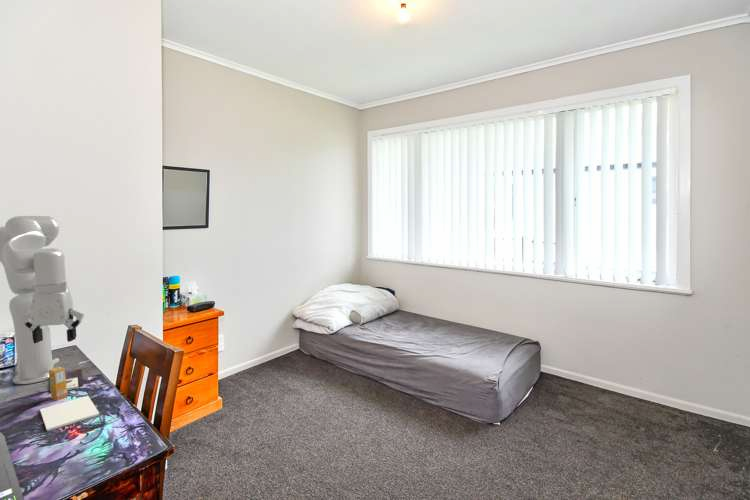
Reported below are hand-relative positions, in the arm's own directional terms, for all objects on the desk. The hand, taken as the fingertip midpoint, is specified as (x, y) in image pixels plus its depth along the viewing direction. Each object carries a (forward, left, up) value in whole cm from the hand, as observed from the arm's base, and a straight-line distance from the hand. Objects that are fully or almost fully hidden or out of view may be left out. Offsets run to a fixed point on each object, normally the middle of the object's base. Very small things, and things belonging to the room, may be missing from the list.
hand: (55, 341), depth 122 cm
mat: (+11, +9, -19) cm, 24 cm away
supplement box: (0, 0, -19) cm, 19 cm away
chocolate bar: (-14, -6, -20) cm, 25 cm away
